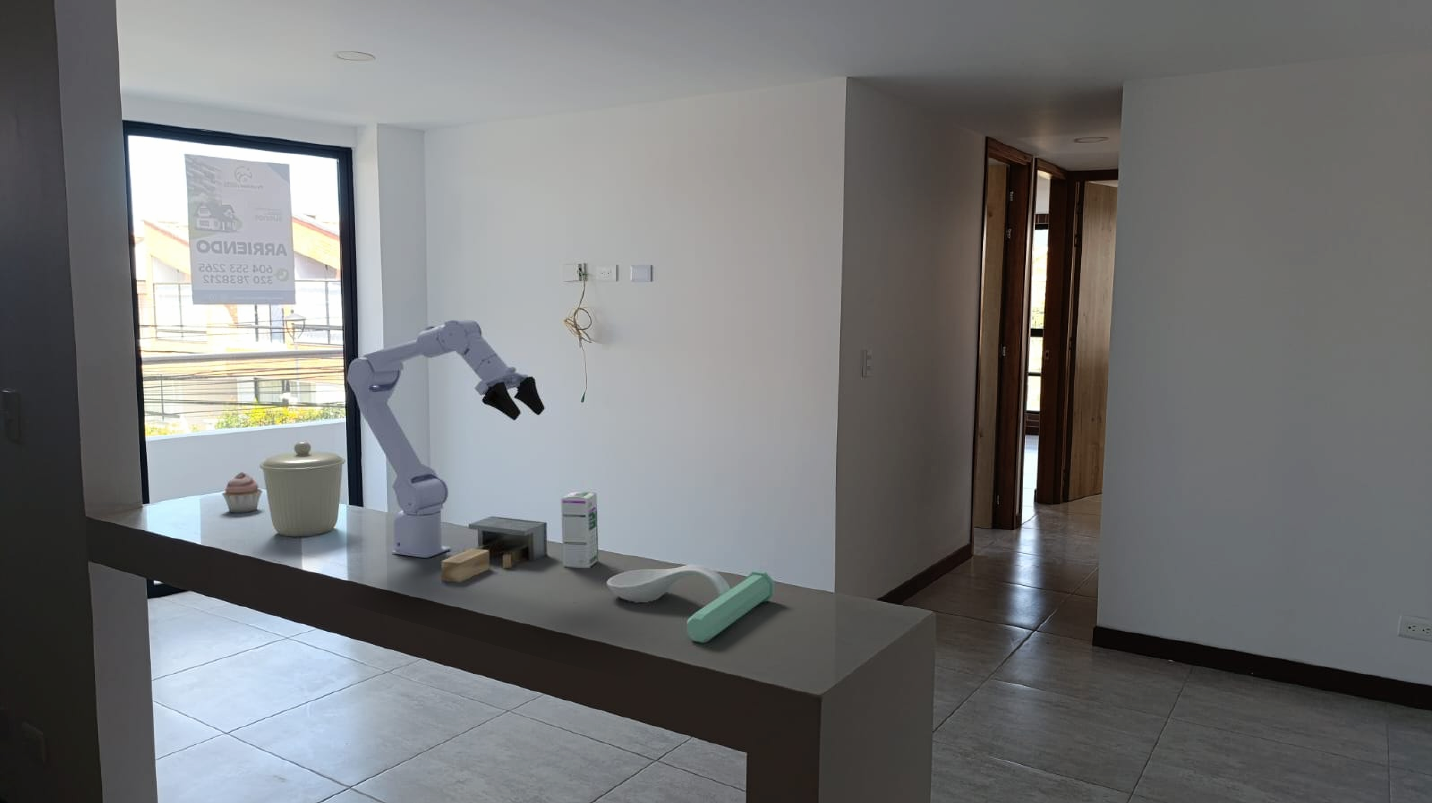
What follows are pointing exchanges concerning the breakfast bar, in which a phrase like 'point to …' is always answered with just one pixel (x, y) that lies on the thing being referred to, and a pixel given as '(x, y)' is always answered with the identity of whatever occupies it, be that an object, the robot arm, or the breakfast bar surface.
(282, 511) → the canister
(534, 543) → the awning
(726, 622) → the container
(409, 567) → the breakfast bar surface
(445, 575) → the oak bar
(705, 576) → the spoon rest
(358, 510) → the breakfast bar surface
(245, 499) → the cupcake
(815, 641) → the breakfast bar surface
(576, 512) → the syrup box
